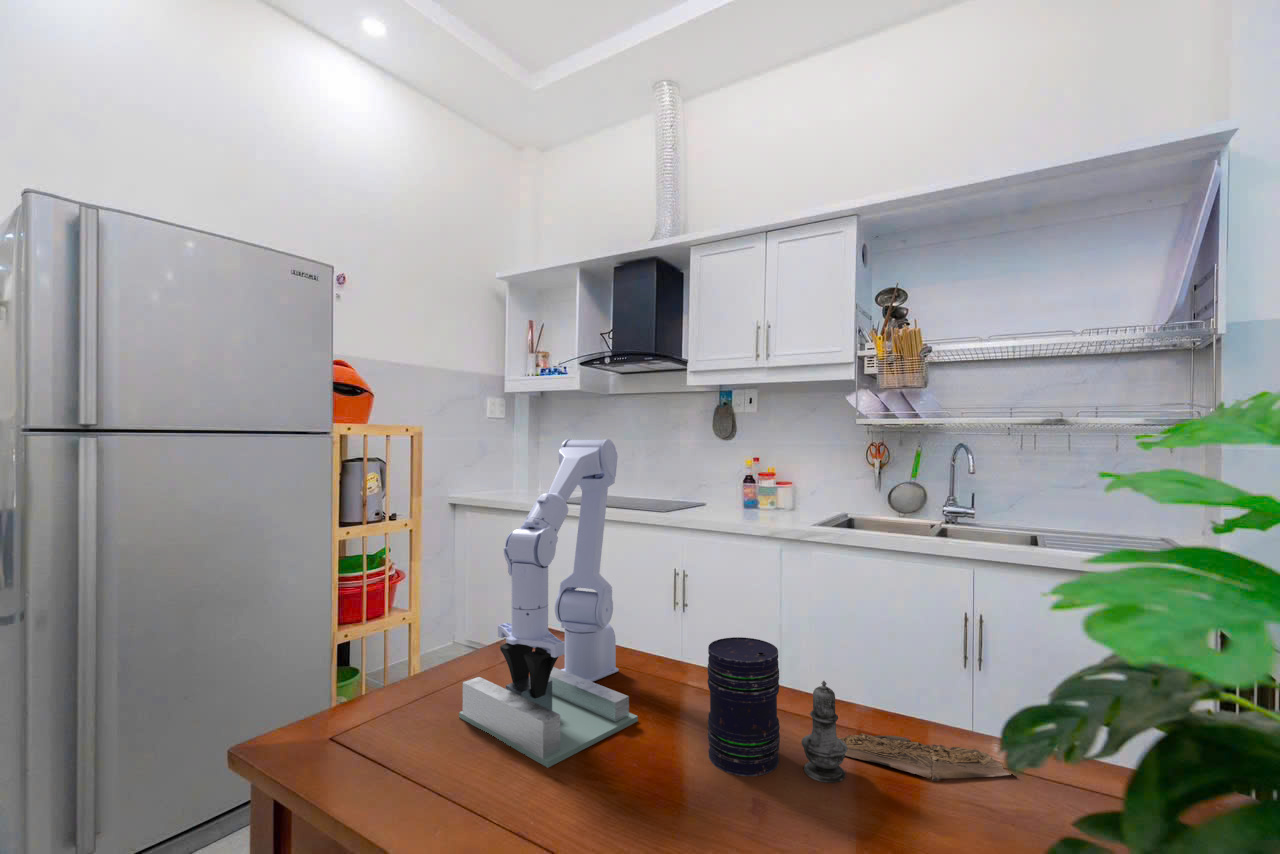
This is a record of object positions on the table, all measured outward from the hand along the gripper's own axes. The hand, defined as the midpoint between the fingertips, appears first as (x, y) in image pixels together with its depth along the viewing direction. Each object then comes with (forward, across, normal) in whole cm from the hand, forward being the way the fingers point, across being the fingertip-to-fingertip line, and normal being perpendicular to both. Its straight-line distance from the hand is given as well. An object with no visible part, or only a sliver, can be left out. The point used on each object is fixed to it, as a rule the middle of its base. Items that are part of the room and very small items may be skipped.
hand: (529, 691), depth 95 cm
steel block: (+4, 0, 0) cm, 4 cm away
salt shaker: (+5, +41, +17) cm, 45 cm away
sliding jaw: (+3, +2, +9) cm, 9 cm away
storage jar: (+5, +31, +13) cm, 34 cm away
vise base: (+4, +2, +2) cm, 5 cm away
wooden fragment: (+5, +48, +28) cm, 56 cm away
